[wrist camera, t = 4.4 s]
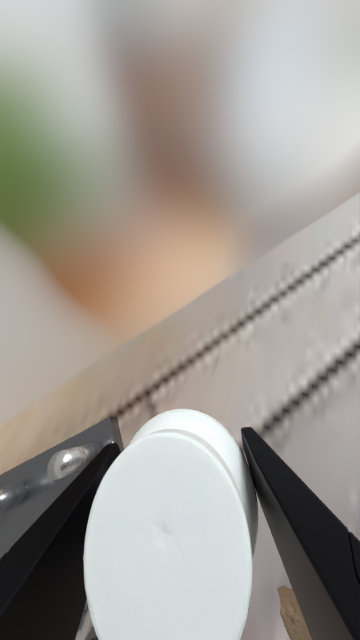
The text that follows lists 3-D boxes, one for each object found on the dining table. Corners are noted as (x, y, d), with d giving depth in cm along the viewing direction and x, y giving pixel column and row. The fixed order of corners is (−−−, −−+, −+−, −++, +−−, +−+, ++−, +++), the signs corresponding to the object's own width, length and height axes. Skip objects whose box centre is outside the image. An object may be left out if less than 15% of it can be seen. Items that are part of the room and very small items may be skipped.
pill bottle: (251, 483, 11) (374, 692, 3) (177, 523, 11) (50, 906, 2) (211, 400, 14) (211, 374, 5) (152, 429, 13) (53, 451, 5)
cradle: (153, 584, 10) (116, 694, 6) (-4, 683, 10) (-160, 878, 6) (116, 416, 15) (82, 417, 11) (11, 472, 15) (-65, 494, 11)
